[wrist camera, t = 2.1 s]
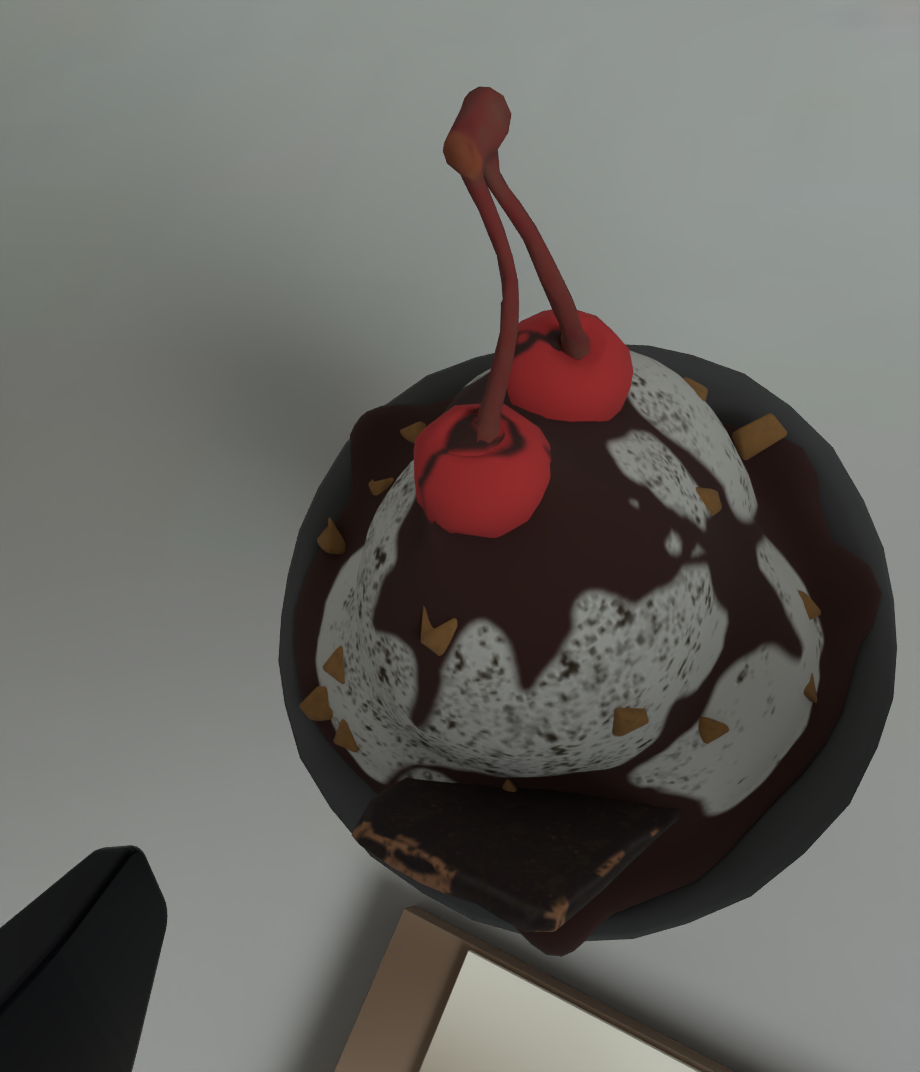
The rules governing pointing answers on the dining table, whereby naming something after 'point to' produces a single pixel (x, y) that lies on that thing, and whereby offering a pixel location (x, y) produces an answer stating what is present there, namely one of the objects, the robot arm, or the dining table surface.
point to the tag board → (492, 1015)
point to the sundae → (584, 621)
